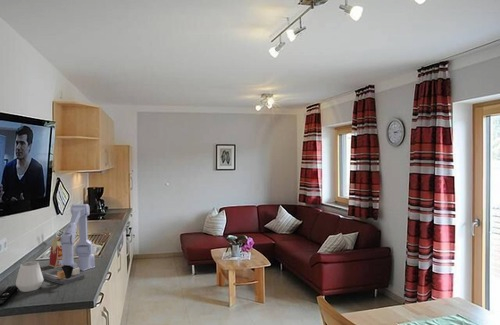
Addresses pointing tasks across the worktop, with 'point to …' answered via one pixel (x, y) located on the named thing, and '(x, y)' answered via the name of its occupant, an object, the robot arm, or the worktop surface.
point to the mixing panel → (53, 277)
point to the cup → (29, 277)
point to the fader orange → (60, 274)
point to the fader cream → (75, 271)
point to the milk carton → (56, 253)
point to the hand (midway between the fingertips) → (68, 278)
